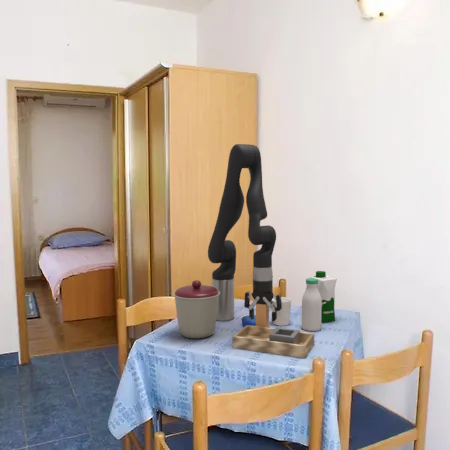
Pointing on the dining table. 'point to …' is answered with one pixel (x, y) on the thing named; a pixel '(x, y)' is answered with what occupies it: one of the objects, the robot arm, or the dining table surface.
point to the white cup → (283, 312)
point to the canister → (196, 309)
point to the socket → (285, 335)
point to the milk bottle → (311, 306)
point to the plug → (262, 315)
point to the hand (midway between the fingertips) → (262, 319)
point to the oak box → (271, 342)
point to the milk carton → (326, 295)
